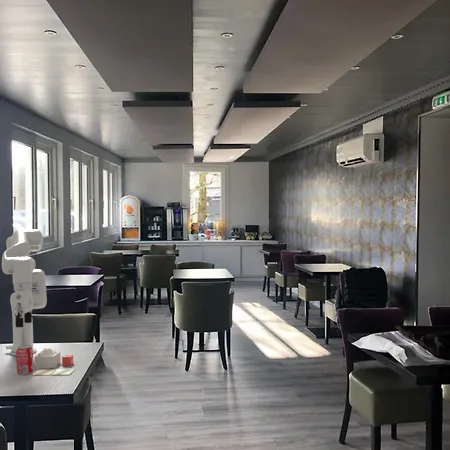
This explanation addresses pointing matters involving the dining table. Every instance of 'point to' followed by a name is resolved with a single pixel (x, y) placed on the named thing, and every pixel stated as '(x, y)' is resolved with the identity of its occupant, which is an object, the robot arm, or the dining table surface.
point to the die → (67, 360)
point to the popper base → (47, 360)
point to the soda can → (24, 359)
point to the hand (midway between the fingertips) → (23, 324)
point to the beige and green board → (53, 372)
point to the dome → (47, 352)
